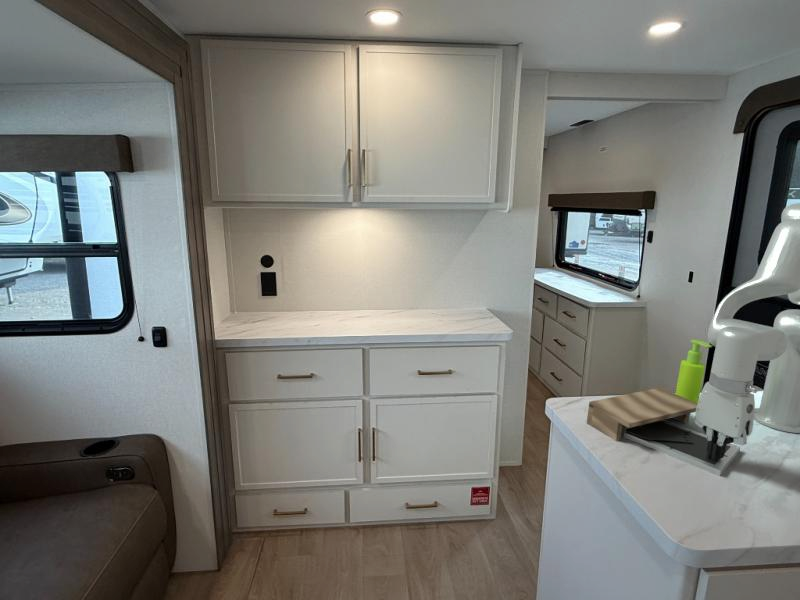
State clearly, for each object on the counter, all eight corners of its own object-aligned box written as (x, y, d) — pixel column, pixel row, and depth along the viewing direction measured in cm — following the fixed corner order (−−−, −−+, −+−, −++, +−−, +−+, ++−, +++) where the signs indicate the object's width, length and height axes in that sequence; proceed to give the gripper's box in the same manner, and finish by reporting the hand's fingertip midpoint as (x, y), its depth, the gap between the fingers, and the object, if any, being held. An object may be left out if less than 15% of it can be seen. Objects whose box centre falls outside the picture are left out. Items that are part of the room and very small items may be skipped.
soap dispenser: (689, 412, 130) (701, 345, 125) (669, 401, 136) (680, 338, 131) (705, 410, 131) (718, 344, 127) (684, 399, 138) (696, 336, 133)
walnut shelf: (656, 407, 132) (660, 387, 131) (699, 427, 121) (703, 406, 120) (586, 423, 122) (589, 401, 120) (625, 446, 110) (629, 423, 109)
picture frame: (623, 440, 115) (719, 479, 100) (624, 429, 114) (721, 467, 99) (648, 421, 125) (738, 454, 110) (649, 412, 125) (741, 444, 109)
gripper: (778, 394, 95) (760, 472, 99) (706, 369, 108) (693, 438, 112) (757, 399, 92) (739, 479, 96) (685, 373, 105) (672, 444, 109)
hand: (714, 457), depth 104 cm, fingers closed
